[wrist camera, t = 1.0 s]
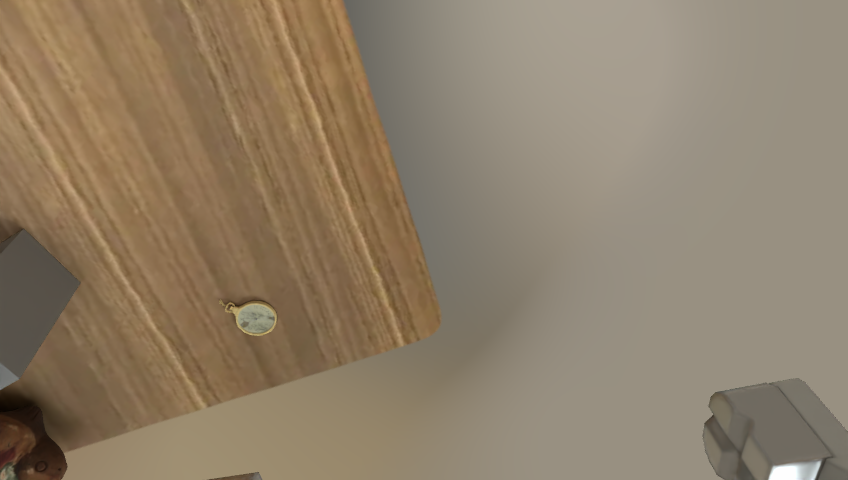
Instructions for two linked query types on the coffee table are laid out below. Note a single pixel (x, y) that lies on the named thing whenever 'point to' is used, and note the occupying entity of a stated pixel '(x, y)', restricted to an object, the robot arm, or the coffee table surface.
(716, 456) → the robot arm
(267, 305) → the pocket watch
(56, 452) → the decorative turtle
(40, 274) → the perfume bottle
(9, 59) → the coffee table surface
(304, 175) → the coffee table surface
